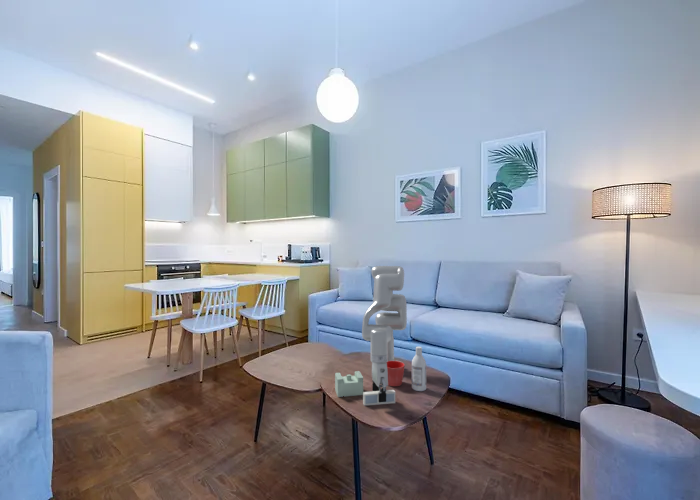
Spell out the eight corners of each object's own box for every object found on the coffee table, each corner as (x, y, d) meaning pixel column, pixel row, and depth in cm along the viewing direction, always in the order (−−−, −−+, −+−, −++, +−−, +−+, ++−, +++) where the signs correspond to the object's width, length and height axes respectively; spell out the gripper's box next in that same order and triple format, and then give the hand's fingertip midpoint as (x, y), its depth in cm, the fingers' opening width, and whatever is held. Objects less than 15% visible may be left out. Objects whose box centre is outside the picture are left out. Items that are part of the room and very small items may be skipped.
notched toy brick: (359, 387, 154) (359, 371, 154) (363, 394, 146) (363, 377, 146) (335, 389, 152) (335, 372, 152) (337, 397, 144) (337, 379, 144)
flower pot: (379, 381, 161) (379, 362, 161) (397, 377, 166) (397, 359, 166) (389, 389, 152) (389, 369, 152) (408, 385, 156) (408, 366, 156)
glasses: (393, 400, 141) (393, 389, 141) (395, 403, 138) (395, 392, 138) (362, 403, 139) (362, 391, 139) (364, 406, 136) (364, 394, 136)
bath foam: (419, 384, 158) (419, 344, 158) (429, 389, 151) (429, 348, 151) (408, 387, 154) (408, 346, 154) (418, 392, 148) (418, 350, 148)
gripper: (393, 363, 131) (393, 405, 130) (381, 351, 148) (381, 387, 147) (376, 364, 129) (376, 406, 129) (365, 352, 146) (365, 389, 146)
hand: (379, 396), depth 138 cm, fingers open, 9 cm apart
